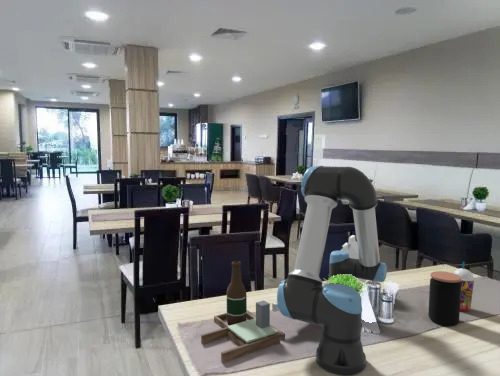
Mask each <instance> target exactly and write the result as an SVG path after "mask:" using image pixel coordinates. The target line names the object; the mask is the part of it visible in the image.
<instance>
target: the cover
mask: <svg viewBox="0 0 500 376" xmlns="http://www.w3.org/2000/svg"><path fill="white" fill-rule="evenodd" d="M270 312H271V304H270V302H268V301H266V300H259V301H256V302H255V315H256V318H254V319H251V320H248V319H247V320H246V321H244V322H241V323H237V324H234V325H230V326H227V328H228V329H229V330H231V331H232V332H233V333H235V334H236V336H237V337H238V338H240V339H241V340H242V341H244V342H245V343H246V344H247V343H250V342H254V341H257V340H260V339H263V338H266V337H267V336H269V335H272V334H275V333H278V331H277V330H275V329H274V328H272V327H271V326H270V325H271V321H270V319H271V317H270V316H271V315H270V314H271V313H270Z"/></svg>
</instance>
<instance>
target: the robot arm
mask: <svg viewBox="0 0 500 376" xmlns="http://www.w3.org/2000/svg"><path fill="white" fill-rule="evenodd" d="M300 186H301V188H300V189H301V190H300V191H301V195H302V196H303V197H304V202H305V203H306V204H307V205H306V206H307V207H306V210H305V215H304V220H303V226H302V228H301V229H302V230H301V233H300V234H301V235H300V239H299V243H298V249H297V253H296V258H295V263H294V267H293V270H292V271H290V272H289V273H288V274H287V278H286V279H283V280H281V281H280V284H278V288H277V292H276V302H272V305H271V306H272V311H273V312H280V314H281V315H283V316H284V317H287V318H289V319H292V320H297V321H300V322H306V323H309V324H313V325H318V326H319V327H320V326H321V327H322V328H321V329H322V330H321V331H322V332H321V338H320V340H319V343H318V346H317V348H316V352H315V361H316V363H317V365H318V366H319V367H320V368H321V369H323V370H325V371H327V372H330V373H332V374H337V375H340V376H341V375H343V376H349V375H351V376H352V375H357V374H359V373H362V372H363V371H364V370H365V369H366V366H367V357H366V353H365V351H364V348H363V347H364V346H363V343H362V339H361V338H362V313H363V307H362V304H363V303H362V295H361V296H360V294H359V293H358V292H357V291H356V290H355V289H353V288H352V287H349V286H347V285H343V284H339V283H336V284H334V283H329V284H328V282H329V281H327V282H323V280H322V279H321V278H320V273H321V268H322V264H323V259H324V258H323V257H324V252H325V247H326V241H327V237H328V231H329V225H330V220H331V215H332V211H333V209H334V208H336V207H337V206H338V202H339V200H340V201H341V200H343V201H345V200H346V201H347V202H348V205H349V208H351V209H352V214H353V215H352V216H353V222H354V229H355V239H356V242H357V246H358V253H359V259H354V258H349V254H348V252H345V251H340V250H333V251H331V253H330V255H329V278H330V277H331V276H333V275H337V274H352V275H353V276H355V277H356V278H359V279H364V280H366V281H371V282H376V283H383V282H385V281H386V278H387V275H388V274H387V273H388V267H387V263H385V262H382V261H380V260H381V259H380V258H381V257H380V252H379V251H380V250H379V239H378V237H379V236H378V227H377V226H378V225H377V219H376V207H377V206H378V195H377V192H376V189H375V186H374V185H373V182H372V181H371V180H370V178H369V177H368V176H367V175H366V174H365V173H364V172H363V171H361V170H360V169H358V168H356V167H352V166H330V165H329V166H328V165H326V166H324V165H318V166H315V165H313V166H310V167H309V168H307V169H306V171H305V172H304V174H303V177H302V178H301V183H300Z"/></svg>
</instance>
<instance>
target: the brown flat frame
mask: <svg viewBox="0 0 500 376" xmlns="http://www.w3.org/2000/svg"><path fill="white" fill-rule="evenodd" d="M254 318H256V314H254V313H253V312H251V311H249V310H248V309H247V320H251V319H254ZM224 320H227V312H225V313H221V314H217V315H214V316H213V321H214V323H216V324H217V325H219V327H221V328H219V329H215V330H212V331H209V332H208V331H207V332H206V333H201V334H200V339H201V340H200V343H201V344H202V345H204V344H207V343H211V342H215V341H218V340H220V339H221V340H222V339H224V338H228V339H230V340H231V341H232V342H233V343H235V344H236V345H238V346H236V347H233V348H230V349H227V350H223V351H221V352H220V356H221V357H220V360H221V361H220V362H221V363H223V364H224V363H226V362H230V361H233V360H235V359H237V358H241V357H244V356H247V355H249V354H253V353H254V352H255V353H256V352H258V351H261V350H264V349H267V348H270V347H272V346H275V345H278V344H280V343H281V340H282V341H284V340H286V333H284V332H283V331H281V330H280V329H279V328H276V326H274V325H272V324H270V326H271V327H272V328H274V329H275V330H277V331H278V333H275V334H272V335H269V336H266V337H263V338H260V339H257V340H254V341H251V342H248V343H247V342H245V341H244V340H243V339H241V338H240V337H239V336H237V335H236V334H235V333H233V332H232V331H231V330H229V329H228V328H227V326H229V325H228V323H227V322H225V321H224Z"/></svg>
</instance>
